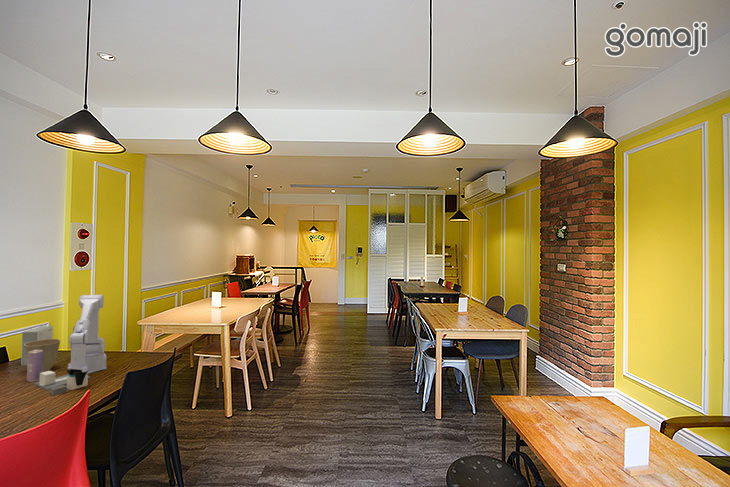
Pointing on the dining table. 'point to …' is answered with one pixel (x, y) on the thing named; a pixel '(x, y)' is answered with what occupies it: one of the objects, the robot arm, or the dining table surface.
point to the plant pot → (44, 351)
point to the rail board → (51, 380)
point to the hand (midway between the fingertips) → (77, 384)
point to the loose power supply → (58, 390)
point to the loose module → (72, 382)
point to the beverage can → (34, 365)
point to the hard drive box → (35, 338)
